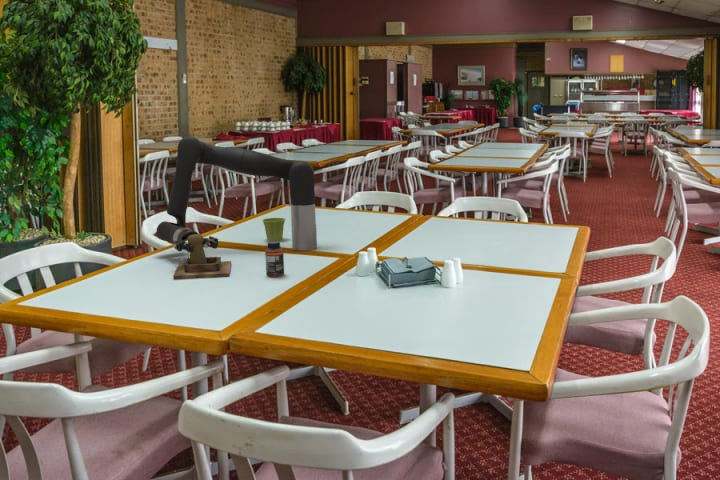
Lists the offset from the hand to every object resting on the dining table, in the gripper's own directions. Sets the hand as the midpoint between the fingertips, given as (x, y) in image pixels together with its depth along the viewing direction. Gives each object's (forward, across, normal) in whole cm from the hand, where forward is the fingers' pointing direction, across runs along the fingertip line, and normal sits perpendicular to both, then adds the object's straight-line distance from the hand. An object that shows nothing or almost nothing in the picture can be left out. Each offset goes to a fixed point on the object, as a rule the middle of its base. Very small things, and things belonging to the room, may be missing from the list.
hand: (203, 247), depth 252 cm
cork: (-2, -2, +7) cm, 7 cm away
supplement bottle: (+18, +17, +9) cm, 26 cm away
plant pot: (-34, +43, +9) cm, 56 cm away
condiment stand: (-1, 0, +9) cm, 9 cm away
